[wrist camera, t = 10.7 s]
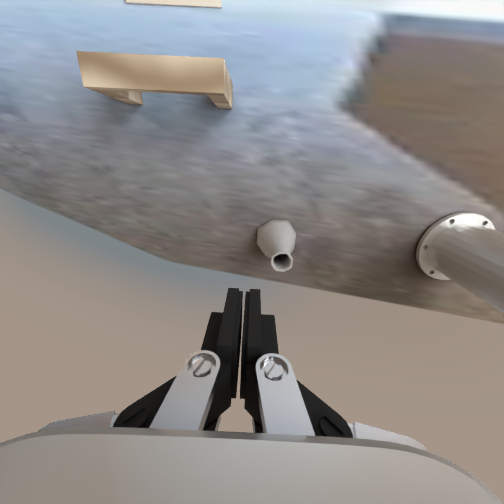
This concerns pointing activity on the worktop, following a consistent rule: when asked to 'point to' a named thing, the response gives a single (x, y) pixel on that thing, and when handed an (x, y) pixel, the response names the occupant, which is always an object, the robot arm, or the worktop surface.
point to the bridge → (155, 76)
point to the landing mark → (180, 2)
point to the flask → (277, 243)
